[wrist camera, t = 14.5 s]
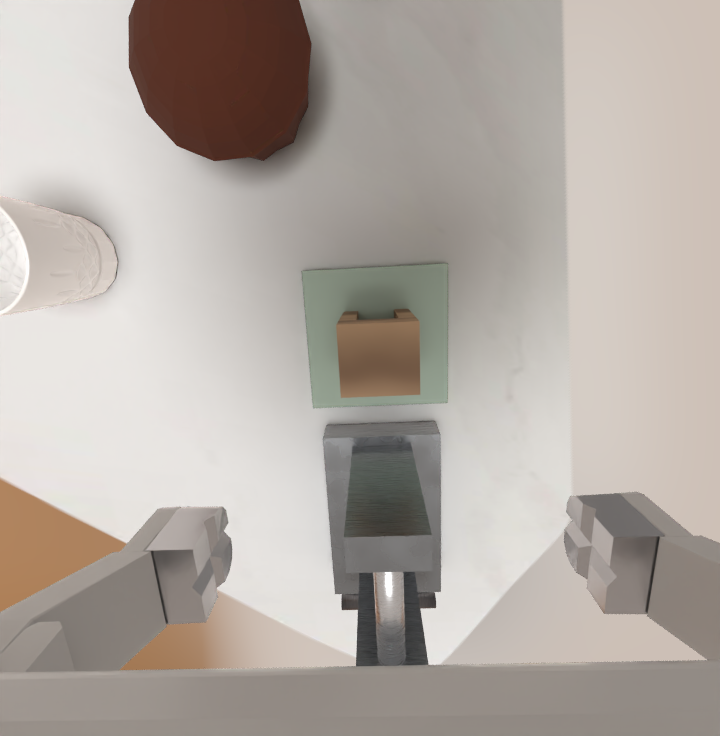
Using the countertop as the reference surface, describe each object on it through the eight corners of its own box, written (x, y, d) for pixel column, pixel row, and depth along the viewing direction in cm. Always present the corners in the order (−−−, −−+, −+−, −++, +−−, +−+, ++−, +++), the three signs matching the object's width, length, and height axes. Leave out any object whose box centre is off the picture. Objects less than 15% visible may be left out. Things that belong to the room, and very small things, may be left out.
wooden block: (343, 311, 34) (336, 324, 26) (408, 308, 34) (419, 321, 26) (347, 368, 35) (340, 397, 27) (409, 366, 35) (420, 394, 27)
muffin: (180, -3, 29) (87, -136, 20) (330, 19, 30) (311, -102, 20) (176, 172, 32) (93, 131, 23) (313, 191, 32) (289, 159, 23)
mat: (303, 270, 34) (301, 270, 33) (446, 263, 33) (447, 263, 33) (314, 405, 37) (313, 408, 36) (445, 399, 36) (447, 402, 36)
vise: (326, 425, 37) (298, 526, 23) (434, 421, 37) (477, 521, 22) (337, 570, 41) (319, 737, 27) (435, 568, 41) (471, 735, 26)
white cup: (20, 275, 35) (-116, 278, 25) (51, 189, 33) (-83, 157, 23) (105, 321, 35) (5, 342, 26) (139, 240, 34) (46, 230, 24)
